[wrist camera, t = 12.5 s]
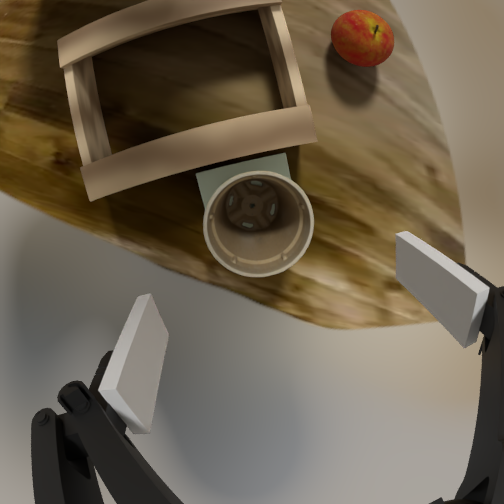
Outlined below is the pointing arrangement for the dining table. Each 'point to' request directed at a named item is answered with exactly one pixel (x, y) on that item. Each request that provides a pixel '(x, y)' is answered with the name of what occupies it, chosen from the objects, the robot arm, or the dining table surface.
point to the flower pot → (258, 224)
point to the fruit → (362, 38)
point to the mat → (217, 176)
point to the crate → (190, 141)
